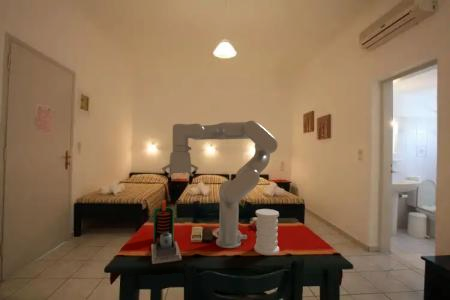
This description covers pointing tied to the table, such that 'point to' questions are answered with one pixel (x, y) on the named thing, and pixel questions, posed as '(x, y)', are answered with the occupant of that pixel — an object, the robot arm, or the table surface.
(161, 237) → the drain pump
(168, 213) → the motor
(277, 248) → the decorative container
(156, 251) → the mounting plate
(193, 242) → the table surface
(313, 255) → the table surface
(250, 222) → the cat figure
